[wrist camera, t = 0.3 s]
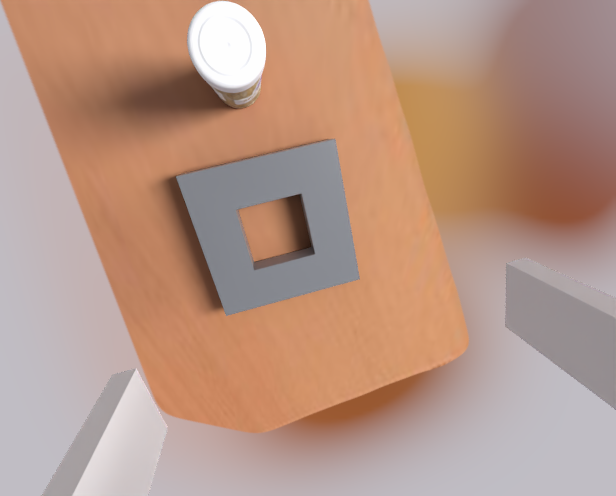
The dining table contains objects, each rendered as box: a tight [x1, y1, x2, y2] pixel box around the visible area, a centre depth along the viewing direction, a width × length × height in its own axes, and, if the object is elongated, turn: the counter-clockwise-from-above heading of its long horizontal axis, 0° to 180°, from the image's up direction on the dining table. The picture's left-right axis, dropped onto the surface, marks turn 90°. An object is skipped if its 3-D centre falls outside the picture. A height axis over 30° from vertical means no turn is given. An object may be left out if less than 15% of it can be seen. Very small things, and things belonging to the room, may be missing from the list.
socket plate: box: [176, 139, 360, 316], centre depth 35 cm, size 16×16×2 cm
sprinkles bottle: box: [187, 1, 266, 108], centre depth 25 cm, size 5×5×13 cm
